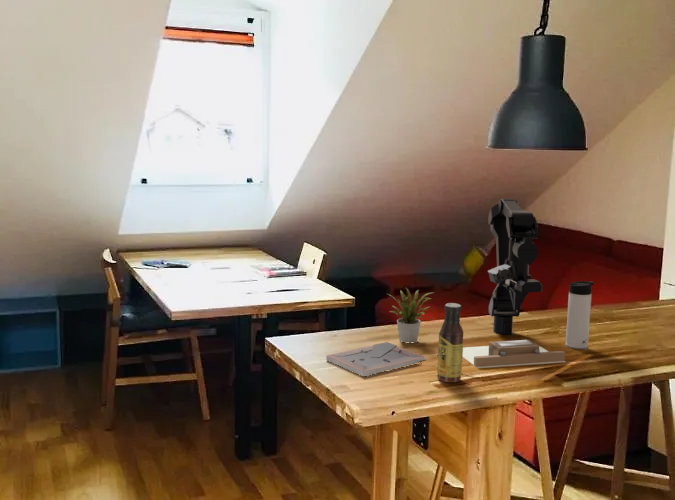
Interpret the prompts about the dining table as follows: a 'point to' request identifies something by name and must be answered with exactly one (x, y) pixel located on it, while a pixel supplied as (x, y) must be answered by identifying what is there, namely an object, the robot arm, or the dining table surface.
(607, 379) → the dining table surface
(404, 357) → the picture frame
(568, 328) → the travel mug
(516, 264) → the robot arm
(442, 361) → the sauce bottle
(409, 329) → the house plant
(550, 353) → the wall board
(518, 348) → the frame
